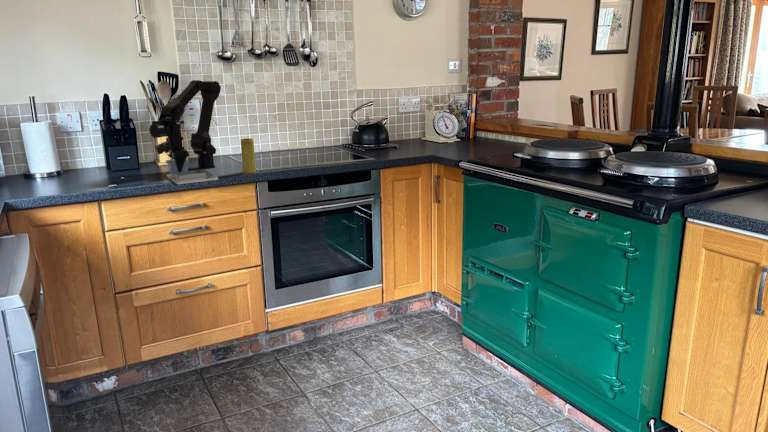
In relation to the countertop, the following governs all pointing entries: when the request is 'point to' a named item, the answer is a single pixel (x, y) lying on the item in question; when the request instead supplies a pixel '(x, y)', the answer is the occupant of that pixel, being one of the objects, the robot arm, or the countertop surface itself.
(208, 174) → the chassis plate
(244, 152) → the vase
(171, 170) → the block
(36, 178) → the countertop surface
